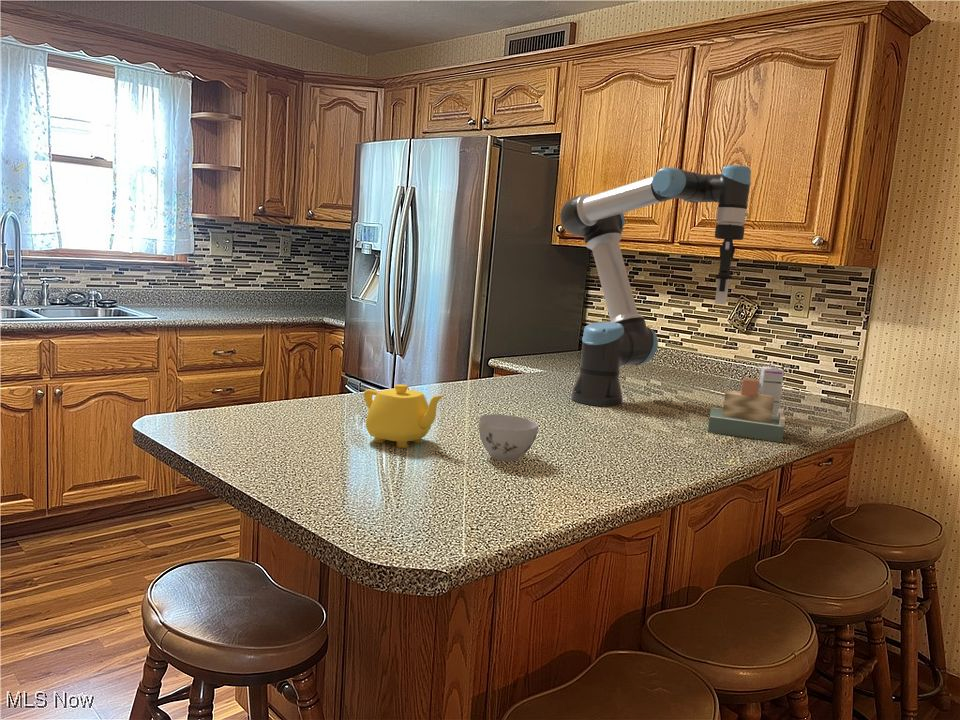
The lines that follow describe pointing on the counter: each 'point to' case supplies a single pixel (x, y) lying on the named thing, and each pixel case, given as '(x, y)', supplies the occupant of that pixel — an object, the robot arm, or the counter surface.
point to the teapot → (399, 415)
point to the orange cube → (750, 387)
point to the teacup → (507, 435)
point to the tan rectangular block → (748, 406)
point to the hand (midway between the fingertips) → (720, 303)
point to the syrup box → (771, 385)
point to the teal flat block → (747, 426)
